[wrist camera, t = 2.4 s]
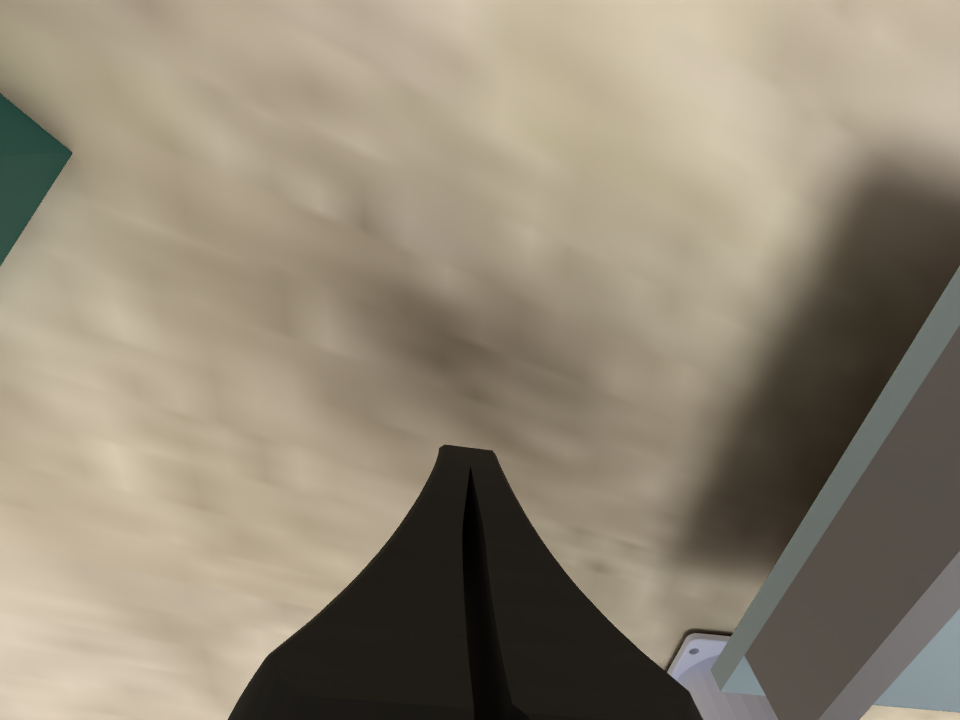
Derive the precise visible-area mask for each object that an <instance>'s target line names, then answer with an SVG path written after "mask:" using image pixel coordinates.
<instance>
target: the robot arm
mask: <svg viewBox="0 0 960 720" xmlns="http://www.w3.org/2000/svg"><path fill="white" fill-rule="evenodd" d="M730 637H731V636H722V635H711V634H701V633H693V634H690V635H688V636H687V637H686V639H685V641H684V643H683V644H682V646H681V648H680V650H679V652H678V653H677V655H676V657H675V659H674V661H673V662H672V664H671V666H670V668H669V670H668V672H665V671H664V670H663V669H662V668H661V667H659V666H658V665H657V664H656V663H655V662H653V661H652V660H651V659H650V658H649V657H647V656H646V655H645V654H644V653H643V652H642V651H641V650H639V649H638V648H637V647H636V646H635V645H634V644H633V643H632V642H631V641H630V640H629V639H628V638H627V637H625V636H624V635H623V634H622V633H621V632H620V631H619V630H618V629H617V628H616V627H615V626H614V625H613V624H612V623H611V622H610V621H609V620H608V619H607V618H606V617H605V616H604V615H603V614H602V613H601V612H600V611H599V610H598V609H597V608H596V606H595V605H594V604H593V603H592V602H591V601H590V600H589V599H588V598H587V597H586V596H585V595H584V594H583V592H582V591H581V590H580V589H579V588H578V587H577V586H576V585H575V583H574V582H573V581H572V580H571V579H570V577H569V576H568V575H567V574H566V572H565V571H564V570H563V569H562V567H561V566H560V565H559V563H558V562H557V561H556V559H555V558H554V557H553V555H552V554H551V553H550V551H549V550H548V548H547V547H546V546H545V544H544V543H543V541H542V540H541V538H540V537H539V535H538V534H537V532H536V530H535V529H534V527H533V526H532V524H531V523H530V521H529V519H528V518H527V516H526V514H525V513H524V511H523V509H522V507H521V505H520V504H519V502H518V500H517V498H516V497H515V495H514V493H513V491H512V489H511V487H510V485H509V483H508V481H507V479H506V477H505V475H504V473H503V471H502V468H501V466H500V464H499V462H498V459H497V457H496V455H495V453H494V452H493V451H491V450H483V449H475V448H467V447H459V446H452V445H443V446H442V447H440V448H439V454H438V457H437V460H436V463H435V466H434V468H433V470H432V472H431V474H430V477H429V479H428V480H427V482H426V484H425V486H424V488H423V490H422V491H421V493H420V495H419V497H418V498H417V500H416V502H415V503H414V505H413V506H412V508H411V509H410V511H409V512H408V514H407V515H406V517H405V518H404V520H403V521H402V523H401V524H400V526H399V527H398V528H397V530H396V531H395V532H394V534H393V535H392V536H391V538H390V539H389V540H388V541H387V543H386V544H385V545H384V546H383V548H382V549H381V550H380V551H379V552H378V554H377V555H376V556H375V557H374V558H373V559H372V560H371V561H370V563H369V564H368V565H367V566H366V567H365V568H364V569H363V570H362V572H361V573H360V574H359V575H358V576H357V577H356V578H355V579H354V580H353V581H352V582H351V583H350V584H349V585H348V586H347V587H346V588H345V589H344V590H343V591H342V592H341V593H340V594H339V595H338V596H337V597H335V598H334V599H333V600H332V601H331V602H330V603H329V604H328V605H327V606H326V607H325V608H324V609H323V610H322V611H321V612H320V613H319V614H317V615H316V616H315V617H314V618H313V619H312V620H311V621H309V622H308V623H307V624H306V625H305V626H303V627H302V628H301V629H300V630H298V631H297V632H296V633H295V634H293V635H292V636H291V637H290V638H289V639H287V640H286V641H285V642H284V643H282V644H281V645H280V646H279V647H277V648H276V649H275V650H274V651H273V652H271V653H270V654H269V655H268V656H267V657H266V658H265V660H264V661H263V663H262V664H261V666H260V667H259V669H258V670H257V672H256V673H255V675H254V676H253V678H252V679H251V681H250V682H249V684H248V685H247V687H246V689H245V690H244V692H243V693H242V695H241V697H240V698H239V700H238V702H237V703H236V705H235V707H234V709H233V711H232V713H231V714H230V716H229V718H228V720H778V718H777V716H776V714H775V712H774V710H773V709H772V707H771V705H770V703H769V701H768V699H767V697H766V696H763V695H751V694H740V693H728V692H720V690H719V688H718V685H717V683H716V681H715V679H714V677H713V674H712V672H711V668H712V666H713V665H714V663H715V662H716V660H717V658H718V657H719V655H720V653H721V652H722V650H723V649H724V647H725V645H726V644H727V642H728V640H729V639H730Z"/></svg>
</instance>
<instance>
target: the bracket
mask: <svg viewBox="0 0 960 720" xmlns="http://www.w3.org/2000/svg"><path fill="white" fill-rule="evenodd" d="M71 155H72V152H71V151H70V150H68V149H67V148H66V147H65V146H64V145H62V144H61V143H60V142H59V141H57V140H56V139H55V138H54V137H53V136H51V135H50V134H49V133H48V132H46V131H45V130H44V129H43V128H42V127H40V126H39V125H38V124H37V123H35V122H34V121H33V120H32V119H31V118H29V117H28V116H27V115H26V114H25V113H23V112H22V111H21V110H20V109H18V108H17V107H16V106H15V105H14V104H12V103H11V102H10V101H9V100H7V99H6V98H5V97H4V96H3V95H1V94H0V266H1V264H2V263H3V261H4V259H5V258H6V256H7V255H8V253H9V252H10V250H11V249H12V247H13V245H14V244H15V242H16V241H17V239H18V238H19V236H20V234H21V233H22V231H23V230H24V228H25V227H26V225H27V223H28V222H29V220H30V219H31V217H32V216H33V214H34V212H35V211H36V209H37V208H38V206H39V205H40V203H41V202H42V200H43V198H44V197H45V195H46V194H47V192H48V191H49V189H50V187H51V186H52V184H53V183H54V181H55V180H56V178H57V176H58V175H59V173H60V172H61V170H62V169H63V167H64V165H65V164H66V162H67V161H68V159H69V158H70V156H71Z"/></svg>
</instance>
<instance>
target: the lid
mask: <svg viewBox="0 0 960 720" xmlns="http://www.w3.org/2000/svg"><path fill="white" fill-rule="evenodd" d="M711 672H712V674H713V677H714V679H715V681H716V683H717V685H718V688H719V690H720V692H728V693H740V694H751V695H763V696H766V697H767V699H768V701H769V703H770V705H771V707H772V709H773V710H774V712H775V714H776V716H777V718H778V720H859V719H860V718H861V717H862V716H863V715H864V714H865V713H866V712H867V711H868V709H869V708H870V707H871V706H872V705H878V706H890V707H902V708H913V709H925V710H936V711H948V712H959V713H960V266H959V268H958V269H957V271H956V272H955V274H954V276H953V277H952V279H951V280H950V282H949V284H948V285H947V287H946V289H945V290H944V292H943V293H942V295H941V297H940V298H939V300H938V302H937V303H936V305H935V306H934V308H933V310H932V311H931V313H930V315H929V316H928V318H927V319H926V321H925V323H924V324H923V326H922V328H921V329H920V331H919V332H918V334H917V336H916V337H915V339H914V340H913V342H912V344H911V345H910V347H909V349H908V350H907V352H906V353H905V355H904V357H903V358H902V360H901V362H900V363H899V365H898V366H897V368H896V370H895V371H894V373H893V375H892V376H891V378H890V379H889V381H888V383H887V384H886V386H885V388H884V389H883V391H882V392H881V394H880V396H879V397H878V399H877V400H876V402H875V404H874V405H873V407H872V409H871V410H870V412H869V413H868V415H867V417H866V418H865V420H864V422H863V423H862V425H861V426H860V428H859V430H858V431H857V433H856V435H855V436H854V438H853V439H852V441H851V443H850V444H849V446H848V448H847V449H846V451H845V452H844V454H843V456H842V457H841V459H840V460H839V462H838V464H837V465H836V467H835V469H834V470H833V472H832V473H831V475H830V477H829V478H828V480H827V482H826V483H825V485H824V486H823V488H822V490H821V491H820V493H819V495H818V496H817V498H816V499H815V501H814V503H813V504H812V506H811V508H810V509H809V511H808V512H807V514H806V516H805V517H804V519H803V520H802V522H801V524H800V525H799V527H798V529H797V530H796V532H795V533H794V535H793V537H792V538H791V540H790V542H789V543H788V545H787V546H786V548H785V550H784V551H783V553H782V555H781V556H780V558H779V559H778V561H777V563H776V564H775V566H774V568H773V569H772V571H771V572H770V574H769V576H768V577H767V579H766V580H765V582H764V584H763V585H762V587H761V589H760V590H759V592H758V593H757V595H756V597H755V598H754V600H753V602H752V603H751V605H750V606H749V608H748V610H747V611H746V613H745V615H744V616H743V618H742V619H741V621H740V623H739V624H738V626H737V628H736V629H735V631H734V632H733V634H732V636H731V637H730V639H729V640H728V642H727V644H726V645H725V647H724V649H723V650H722V652H721V653H720V655H719V657H718V658H717V660H716V662H715V663H714V665H713V666H712V668H711Z"/></svg>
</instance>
